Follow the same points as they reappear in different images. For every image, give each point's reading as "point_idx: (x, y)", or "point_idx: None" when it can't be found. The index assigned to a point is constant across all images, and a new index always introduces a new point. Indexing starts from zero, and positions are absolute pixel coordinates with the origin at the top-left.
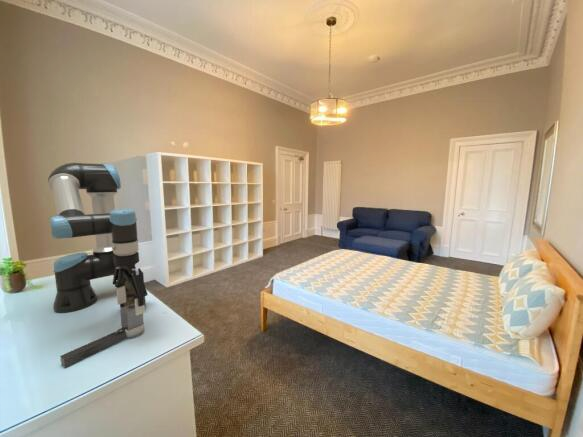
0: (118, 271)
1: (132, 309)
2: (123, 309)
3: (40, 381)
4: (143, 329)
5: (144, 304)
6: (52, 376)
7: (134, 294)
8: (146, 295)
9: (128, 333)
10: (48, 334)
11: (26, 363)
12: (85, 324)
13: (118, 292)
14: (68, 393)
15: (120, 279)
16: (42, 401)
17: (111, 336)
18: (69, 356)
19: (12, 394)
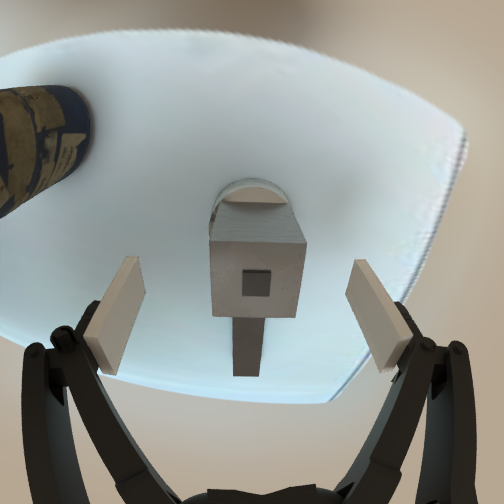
0: (77, 493)
1: (291, 292)
2: (247, 316)
3: (260, 381)
4: (283, 194)
5: (73, 95)
6: (264, 372)
7: (37, 157)
8: (457, 345)
9: None
10: None
11: (170, 377)
12: (63, 272)
13: (122, 346)
14: (342, 367)
15: (145, 456)
16: (320, 384)
17: None
18: (255, 370)
19: (257, 398)
